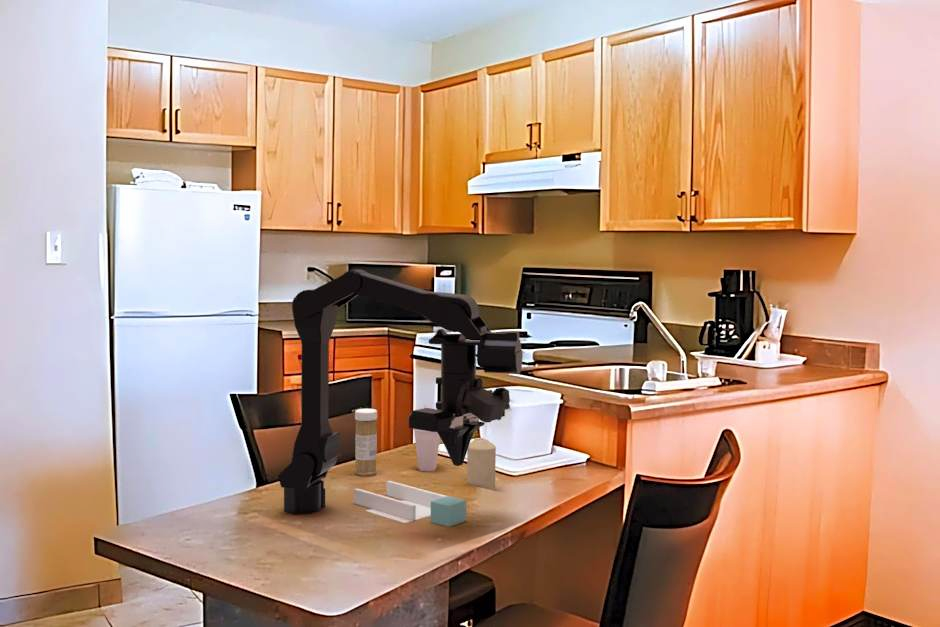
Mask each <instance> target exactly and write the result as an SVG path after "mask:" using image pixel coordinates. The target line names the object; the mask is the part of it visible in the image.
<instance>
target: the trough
mask: <svg viewBox="0 0 940 627" xmlns="http://www.w3.org/2000/svg"><path fill="white" fill-rule="evenodd" d="M385 486H386V487H385V490H386V495H382V494H378V493H374V492H372V491H368V490H364V489H361V488H359V487H358V488H353V504H355V505H359V506H361V507H365V508H369V509H367V510H366V509H365V510H364V512H367V513H370V514H374V515H377V516H381V517H384V518H387V519H389V520H393V521H397V522H400V523H403V524H406V523H410V522H414V521H417V520H420V519H424V518H428V517H431V501H434V500H437V499H440V498H444V497H447V496H448V495H444V494H440V493H437V492H434V491H430V490H426V489H422V488H419V487H414V486H411V485H407V484H404V483H400V482H396V481H393V480H387V481H386V485H385ZM388 496H389V497H388ZM392 497H393V498H392Z"/></svg>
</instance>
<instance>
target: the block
mask: <svg viewBox="0 0 940 627" xmlns="http://www.w3.org/2000/svg"><path fill="white" fill-rule="evenodd" d="M446 496H447V497H444V498H440V499H437V500H434V501H431V516H430V523H434V524H437V525H441V526H444V527H451V526H455V525H457V524H460V523H463V522H465V521H467V500H466V499H462V498H458V497H453V496H450V495H446Z"/></svg>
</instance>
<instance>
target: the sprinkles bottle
mask: <svg viewBox="0 0 940 627" xmlns="http://www.w3.org/2000/svg"><path fill="white" fill-rule="evenodd" d="M354 419H355V441H354V442H355V446H354V447H355V452H354V453H355V456H354V457H355V470H354V474H356V475H357V476H365V477H369V476H374V475H376V474H377V473H378V471H377V457H378V451H377V449H378V448H377V447H378V446H377V445H378V443H377V440H378V439H377V435H378V434H377V421H378V420H377V419H378V410H377V409H375V408H359V409H356V410H355V412H354Z"/></svg>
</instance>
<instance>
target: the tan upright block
mask: <svg viewBox="0 0 940 627" xmlns="http://www.w3.org/2000/svg"><path fill="white" fill-rule="evenodd" d="M496 450H497V447H496V445H495V444H494V443H493V442H491V441H490V440H488V439H486V438H484V437H477V438H474V439H473V440H471V441H470V444H469V447H468V450H467V453H466V456H467V459H466V460H467V461H466V462H467V463H466V466H467V468H466V470H467V471H466V484H467V485H469V486H473V487H478V488H482V489H486V490H490V491H492V492H494V491H495V488H496V453H497V452H496Z"/></svg>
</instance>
